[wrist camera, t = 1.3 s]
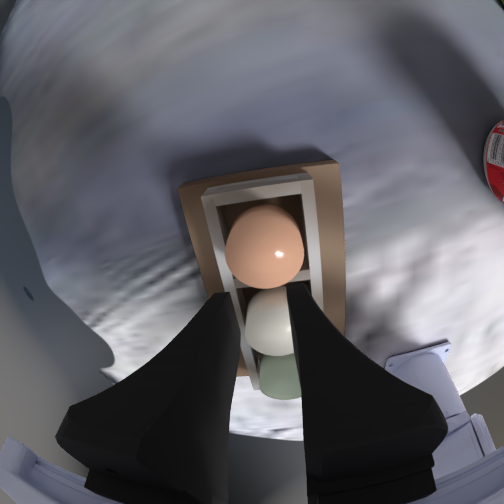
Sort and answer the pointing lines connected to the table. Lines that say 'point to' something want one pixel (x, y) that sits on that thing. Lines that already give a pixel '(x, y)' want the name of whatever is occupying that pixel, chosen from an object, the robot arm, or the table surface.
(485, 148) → the soda can
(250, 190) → the button board
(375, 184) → the table surface
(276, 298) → the button ivory
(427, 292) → the table surface
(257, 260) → the button terracotta
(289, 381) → the button sage
